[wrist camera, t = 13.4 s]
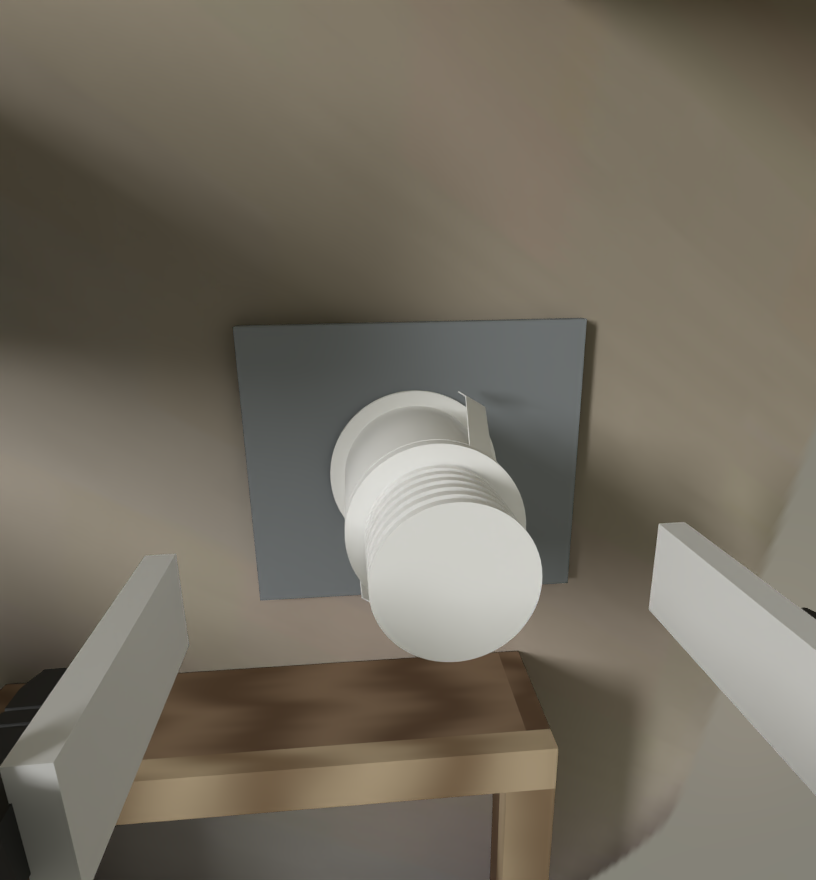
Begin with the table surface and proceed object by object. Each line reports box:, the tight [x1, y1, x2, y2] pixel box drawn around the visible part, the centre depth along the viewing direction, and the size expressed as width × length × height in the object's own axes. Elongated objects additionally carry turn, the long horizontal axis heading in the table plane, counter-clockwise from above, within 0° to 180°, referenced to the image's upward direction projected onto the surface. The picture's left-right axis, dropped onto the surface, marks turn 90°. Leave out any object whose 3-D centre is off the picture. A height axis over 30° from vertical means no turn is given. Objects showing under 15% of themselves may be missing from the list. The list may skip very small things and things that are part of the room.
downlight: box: [330, 390, 542, 662], centre depth 20 cm, size 8×7×10 cm
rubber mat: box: [233, 318, 587, 600], centre depth 25 cm, size 14×12×1 cm
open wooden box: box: [0, 651, 558, 880], centre depth 27 cm, size 24×18×6 cm
